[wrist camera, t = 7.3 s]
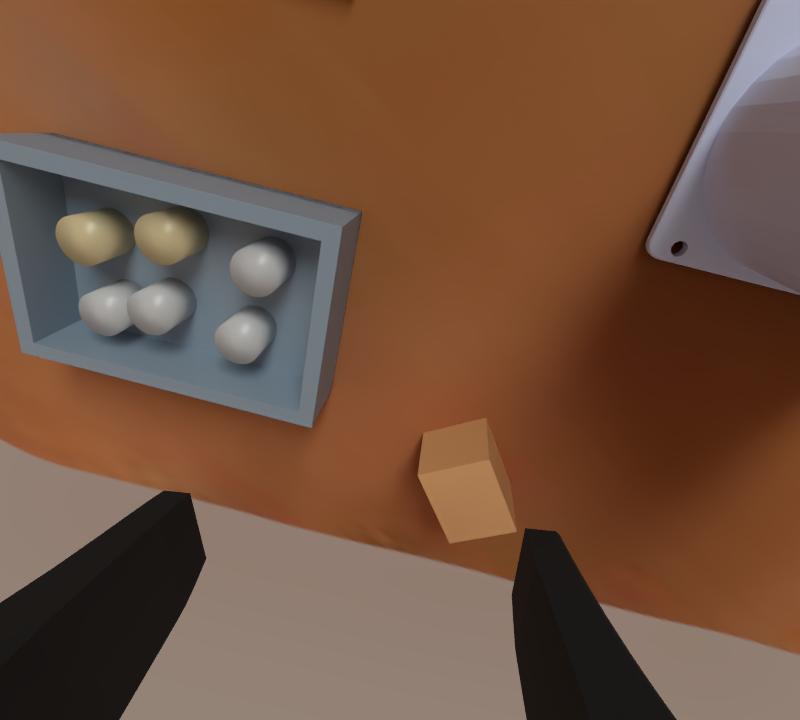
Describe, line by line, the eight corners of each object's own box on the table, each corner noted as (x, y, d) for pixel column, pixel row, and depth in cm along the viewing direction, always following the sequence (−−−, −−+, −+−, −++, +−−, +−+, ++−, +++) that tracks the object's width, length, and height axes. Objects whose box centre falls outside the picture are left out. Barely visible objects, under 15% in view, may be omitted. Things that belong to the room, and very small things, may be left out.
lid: (580, 338, 19) (603, 380, 15) (617, 488, 22) (644, 549, 19) (319, 411, 22) (294, 459, 19) (384, 532, 25) (372, 590, 22)
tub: (362, 211, 17) (342, 226, 14) (331, 389, 20) (311, 428, 18) (52, 133, 17) (-25, 133, 14) (78, 323, 21) (21, 352, 18)
